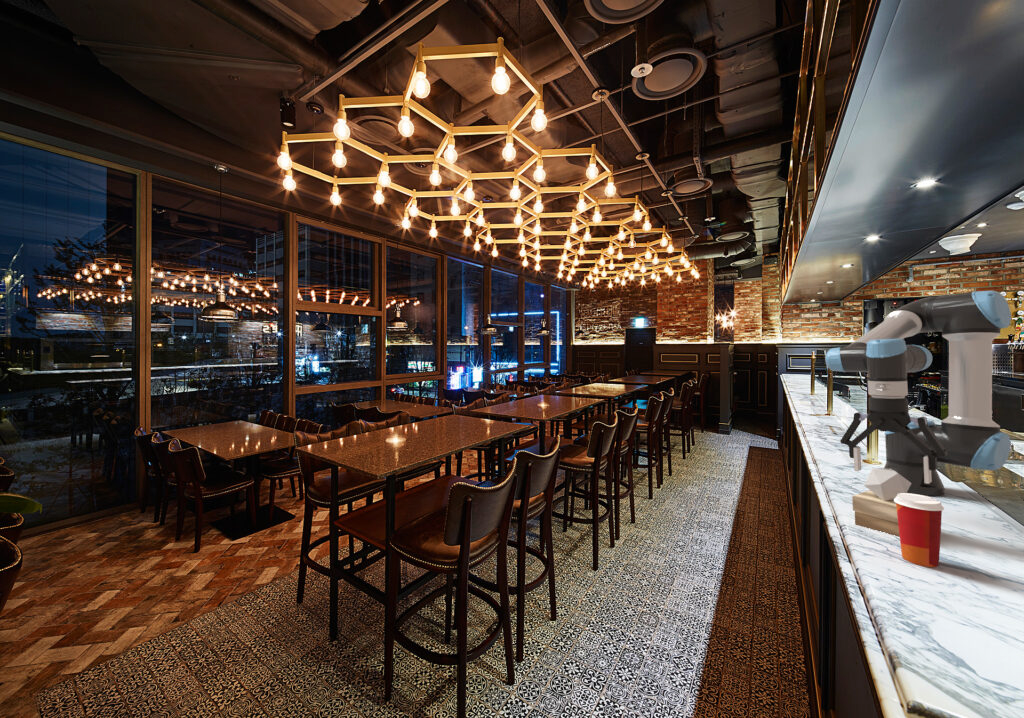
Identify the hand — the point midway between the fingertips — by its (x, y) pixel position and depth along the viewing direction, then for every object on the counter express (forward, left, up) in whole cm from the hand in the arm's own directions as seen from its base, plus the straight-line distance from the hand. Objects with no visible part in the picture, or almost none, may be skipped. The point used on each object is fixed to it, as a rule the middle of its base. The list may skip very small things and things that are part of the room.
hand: (891, 476), depth 102 cm
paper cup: (+18, +8, -14) cm, 24 cm away
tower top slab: (+1, -1, -10) cm, 10 cm away
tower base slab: (0, 0, -14) cm, 14 cm away
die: (+1, -1, -6) cm, 6 cm away
